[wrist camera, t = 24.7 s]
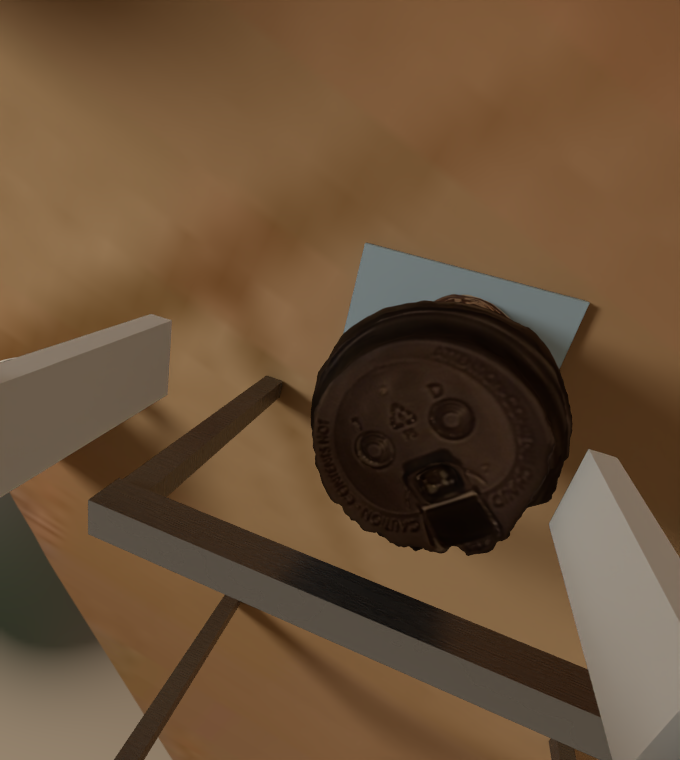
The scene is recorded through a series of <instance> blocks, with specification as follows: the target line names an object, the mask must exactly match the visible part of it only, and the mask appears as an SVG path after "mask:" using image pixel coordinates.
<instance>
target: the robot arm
mask: <svg viewBox="0 0 680 760" xmlns="http://www.w3.org/2000/svg"><path fill="white" fill-rule="evenodd" d="M171 325H172V320H169V319H166V318H162V317H159V316H156V315H153V314H150V315H147V316H144V317H141V318H137V319H134V320H131V321H128V322H125V323H122V324H119V325H116V326H113V327H110V328H107V329H104V330H100V331H97V332H94V333H91V334H88V335H85V336H82V337H79V338H76V339H73V340H70V341H67V342H64V343H60V344H57V345H54V346H51V347H48V348H45V349H42V350H39V351H36V352H33V353H30V354H27V355H23V356H20V357H17V358H14V359H10V360H7V361H4V362H0V497H2V496H4V495H5V494H7V493H8V492H10V491H12V490H13V489H15V488H17V487H18V486H20V485H21V484H23V483H25V482H26V481H28V480H30V479H31V478H33V477H34V476H36V475H38V474H39V473H41V472H43V471H44V470H46V469H48V468H49V467H51V466H52V465H54V464H56V463H57V462H59V461H61V460H62V459H64V458H65V457H67V456H69V455H70V454H72V453H74V452H75V451H77V450H78V449H80V448H82V447H83V446H85V445H87V444H88V443H90V442H91V441H93V440H95V439H96V438H98V437H100V436H101V435H103V434H104V433H106V432H108V431H109V430H111V429H113V428H114V427H116V426H118V425H119V424H121V423H122V422H124V421H126V420H127V419H129V418H131V417H132V416H134V415H135V414H137V413H139V412H140V411H142V410H144V409H145V408H147V407H148V406H150V405H152V404H153V403H155V402H157V401H158V400H160V399H161V398H163V397H165V396H166V395H167V392H168V375H169V359H170V342H171ZM549 527H550V530H551V534H552V538H553V542H554V545H555V549H556V553H557V556H558V560H559V564H560V567H561V571H562V575H563V579H564V582H565V586H566V590H567V593H568V597H569V601H570V605H571V608H572V612H573V616H574V619H575V623H576V627H577V630H578V634H579V638H580V642H581V645H582V649H583V653H584V656H585V660H586V664H587V667H588V671H589V675H590V679H591V682H592V686H593V690H594V693H595V697H596V701H597V704H598V708H599V712H600V716H601V719H602V723H603V727H604V730H605V734H606V738H607V741H608V745H609V749H610V753H611V756H612V760H680V558H679V556H678V554H677V553H676V551H675V550H674V548H673V546H672V545H671V543H670V541H669V540H668V538H667V537H666V535H665V533H664V532H663V530H662V529H661V527H660V525H659V524H658V522H657V521H656V519H655V517H654V516H653V514H652V513H651V511H650V509H649V508H648V506H647V505H646V503H645V501H644V500H643V498H642V497H641V495H640V493H639V492H638V490H637V488H636V487H635V485H634V484H633V482H632V480H631V479H630V477H629V476H628V474H627V472H626V471H625V469H624V468H623V466H622V464H621V463H620V461H619V460H618V458H617V457H614V456H610V455H607V454H604V453H601V452H597V451H594V450H591V449H588V451H587V453H586V455H585V457H584V458H583V460H582V462H581V464H580V466H579V468H578V470H577V472H576V474H575V475H574V477H573V479H572V481H571V483H570V485H569V487H568V489H567V491H566V492H565V494H564V496H563V498H562V500H561V502H560V504H559V506H558V508H557V509H556V511H555V513H554V515H553V517H552V519H551V521H550V523H549Z"/></svg>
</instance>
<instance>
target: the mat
mask: <svg viewBox="0 0 680 760" xmlns="http://www.w3.org/2000/svg"><path fill="white" fill-rule="evenodd" d="M451 294H458V295H472V296H474V297H478V298H481V299H483V300H486V301H488V302H490V303H492V304H493V305H495V306H496V307H497V308H498V309H500V310H501V311H502V312H503V313H504V314H506V315H507V316H508V317H509V318H510V319H511V320H513V321H514V322H517V323H520V324H521V325H523V326H525V327H529V328H530V329H531V330H533V331H534V332H535V333H536V334H537V335H538V336H539V338H540V339H541V340H542V341H543V342H544V343H545V344H546V346H547V347H548V349H549V350H550V352H551V354H552V356H553V357H554V359H555V361H556V364H557V366H558V368H559V369H560V367H561V365H562V362H563V360H564V358H565V356H566V354H567V351H568V349H569V347H570V345H571V343H572V340H573V338H574V336H575V334H576V332H577V329H578V327H579V325H580V323H581V321H582V318H583V316H584V314H585V312H586V310H587V307H588V305H589V302H587V301H585V300H581V299H577V298H573V297H570V296H566V295H562V294H558V293H554V292H551V291H547V290H543V289H539V288H536V287H532V286H528V285H524V284H521V283H517V282H513V281H509V280H505V279H502V278H498V277H494V276H490V275H487V274H483V273H479V272H475V271H472V270H468V269H464V268H460V267H457V266H453V265H449V264H445V263H441V262H438V261H434V260H430V259H426V258H423V257H419V256H415V255H411V254H408V253H404V252H400V251H396V250H393V249H389V248H385V247H381V246H377V245H374V244H370V243H365V246H364V250H363V254H362V258H361V262H360V267H359V271H358V275H357V279H356V283H355V287H354V292H353V296H352V300H351V304H350V308H349V312H348V317H347V321H346V325H345V329H344V333H345V332H346V331H347V330H348V329H349V328H350V327H352V326H353V325H355V324H357V323H358V322H359V321H361V320H363V319H364V318H366V317H367V316H370V315H372V314H374V313H376V312H377V311H379V310H381V309H383V308H386V307H392V306H397V305H402V304H405V303H413V302H419V301H423V300H428V301H435V300H437V299H439V298H441V297H444V296H447V295H451ZM344 333H343V334H344Z"/></svg>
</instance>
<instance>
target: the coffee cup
mask: <svg viewBox="0 0 680 760" xmlns="http://www.w3.org/2000/svg"><path fill="white" fill-rule="evenodd" d="M311 428H312V437H313V449H314V451H315V453H316V456H315V465H316V467H317V469H318V471H319V473H320V477H321V481H322V484H323V486H324V488H325V490H326V492H327V494H328V495H329V497H330V499H331V500H332V501H333V502H334V503H337V504H340V505H341V506H342V507H343V510H344V513H345V514H346V515H348V516H349V517H350V519H351V520H354V521H356V522H357V523H358V524H359V525H360V527H361V528H362V529H363V530H364V531H368V532H373V533H375V532H377V533H378V535H379V536H382V537H385V538H386V539H387V540H388V541H389V542H390V543H394V544H395V545H397V546H398V547H400V546H402V547H407V546H410V547H411V548H412V549H413V550H415V551H417V550H420V549H422V548H424V549H425V550H428V551H430V552H437V553H445V552H446V551H447V550H448V549H449V548H450V547H451V546H458V547H459V548H460V549H461V550H462V551H464V552H465V553H466V555H467V556H469V555H473V554H481V553H487V552H490V551H491V550H493V548H494V547H495V545H496V542H498V541H503V540H505V539H507V538H508V537H509V536H510V531H511V530H512V529H513V527H514V526H515V524H516V522H517V520H518V519H519V518H520V517H521V516H522V514H523V512H524V511H525V510H526V508H528V507H532V506H535V505H539V504H543V503H547V502H548V501H549V500H551V499H552V494H553V493H554V492H555V490H556V487H557V481H558V478H559V476H560V473H561V469H562V467H563V464H564V461H565V460H566V459H567V458H568V456H569V445H570V437H571V433H572V415H571V412H570V405H569V401H568V394H567V392H566V390H565V386H564V382H563V379H562V377H561V374H560V370H559V368H558V366H557V364H556V361H555V359H554V357H553V356H552V354H551V352H550V350H549V349H548V347H547V346H546V344H545V343H544V342H543V341H542V340H541V339H540V338H539V336H538V335H537V334H536V333H535V332H534V331H533V330H531V329H530V328H529V327H525V326H523V325H521V324H520V323H517V322H514V321H513V320H511V319H510V318H509V317H508V316H507V315H506V314H504V313H503V312H502V311H501V310H500V309H498V308H497V307H496V306H495V305H493V304H492V303H490V302H488V301H486V300H483V299H481V298H478V297H474V296H472V295H458V294H451V295H447V296H444V297H441V298H439V299H437V300H435V301H428V300H423V301H419V302H413V303H405V304H402V305H397V306H392V307H386V308H383V309H381V310H379V311H377V312H376V313H374V314H372V315H370V316H367V317H366V318H364V319H363V320H361V321H359V322H358V323H357V324H355V325H353V326H352V327H350V328H349V329H348V330H347V331H346V332H345V333H344V334H343V335H342V336H341V337H340V339H339V341H338V343H337V344H336V345H335V347H334V349H333V351H332V353H331V354H330V356H329V358H328V360H327V361H326V362H325V363H324V365H323V366H322V368H321V369H320V371H319V372H318V375H317V382H316V386H315V391H314V394H313V399H312V407H311Z"/></svg>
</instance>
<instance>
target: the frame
mask: <svg viewBox="0 0 680 760" xmlns="http://www.w3.org/2000/svg"><path fill="white" fill-rule="evenodd" d="M281 387H282V381H281V380H278V379H275V378H272V377H269V376H265V377H264V378H262V379H261V380H260V381H258V382H257V383H255V384H254V385H253V386H251V387H250V388H248V389H247V390H246V391H244V392H243V393H242V394H240V395H239V396H237V397H236V398H235V399H233V400H232V401H230V402H229V403H228V404H226V405H225V406H224V407H222V408H221V409H219V410H218V411H217V412H215V413H214V414H213V415H211V416H210V417H208V418H207V419H206V420H204V421H203V422H201V423H200V424H199V425H197V426H196V427H195V428H193V429H192V430H190V431H189V432H188V433H186V434H185V435H183V436H182V437H181V438H179V439H178V440H177V441H175V442H174V443H172V444H171V445H170V446H168V447H167V448H165V449H164V450H163V451H161V452H160V453H159V454H157V455H156V456H154V457H153V458H152V459H150V460H149V461H147V462H146V463H145V464H143V465H142V466H141V467H139V468H138V469H136V470H135V471H134V472H132V473H131V474H129V475H128V476H127V477H125V478H124V479H123V480H122V479H120V478H118V479H117V480H116V481H114V482H113V483H111V484H110V485H109V486H107V487H106V488H104V489H103V490H101V491H100V492H99V493H97V494H96V495H94V496H93V497H92V498H90V499H89V500H88V534H89V535H91V536H94V537H96V538H98V539H101V540H103V541H105V542H107V543H110V544H112V545H114V546H116V547H119V548H121V549H123V550H125V551H128V552H130V553H132V554H135V555H137V556H139V557H141V558H144V559H146V560H148V561H150V562H153V563H155V564H157V565H159V566H162V567H164V568H166V569H169V570H171V571H173V572H175V573H178V574H180V575H182V576H184V577H187V578H189V579H191V580H193V581H196V582H198V583H200V584H203V585H205V586H207V587H209V588H212V589H214V590H216V591H218V592H221V593H223V594H225V595H224V597H223V598H222V600H221V601H220V603H219V604H218V606H217V607H216V609H215V610H214V612H213V613H212V615H211V616H210V618H209V619H208V621H207V622H206V624H205V625H204V627H203V628H202V630H201V631H200V633H199V634H198V636H197V637H196V639H195V640H194V642H193V643H192V644H191V646H190V647H189V649H188V650H187V652H186V653H185V655H184V656H183V658H182V659H181V661H180V662H179V664H178V665H177V667H176V668H175V670H174V671H173V673H172V674H171V676H170V677H169V679H168V680H167V682H166V683H165V685H164V686H163V688H162V689H161V691H160V692H159V694H158V695H157V697H156V698H155V700H154V701H153V702H152V704H151V705H150V707H149V708H148V710H147V711H146V713H145V714H144V716H143V718H142V719H141V720H140V722H139V723H138V725H137V726H136V728H135V729H134V731H133V732H132V734H131V735H130V737H129V738H128V740H127V741H126V743H125V744H124V746H123V747H122V749H121V750H120V752H119V753H118V755H117V756H116V758H115V759H114V760H144V759H145V757H146V756H147V754H148V752H149V751H150V749H151V748H152V746H153V744H154V743H155V741H156V739H157V738H158V736H159V735H160V733H161V731H162V730H163V728H164V727H165V725H166V723H167V722H168V720H169V718H170V717H171V715H172V714H173V712H174V710H175V709H176V707H177V705H178V704H179V702H180V701H181V699H182V697H183V696H184V694H185V692H186V691H187V689H188V688H189V686H190V684H191V683H192V681H193V679H194V678H195V676H196V675H197V673H198V671H199V670H200V668H201V666H202V665H203V663H204V662H205V660H206V658H207V657H208V655H209V653H210V652H211V650H212V649H213V647H214V645H215V644H216V642H217V640H218V639H219V637H220V636H221V634H222V632H223V631H224V629H225V628H226V626H227V624H228V623H229V621H230V619H231V618H232V616H233V615H234V613H235V611H236V610H237V608H238V606H239V605H240V601H241V602H243V603H246V604H248V605H250V606H252V607H255V608H257V609H259V610H262V611H264V612H266V613H268V614H271V615H273V616H275V617H277V618H280V619H282V620H284V621H286V622H289V623H291V624H293V625H296V626H298V627H300V628H302V629H305V630H307V631H309V632H311V633H314V634H316V635H318V636H320V637H323V638H325V639H327V640H330V641H332V642H334V643H336V644H339V645H341V646H343V647H345V648H348V649H350V650H352V651H354V652H357V653H359V654H361V655H364V656H366V657H368V658H370V659H373V660H375V661H377V662H379V663H382V664H384V665H386V666H388V667H391V668H393V669H395V670H398V671H400V672H402V673H404V674H407V675H409V676H411V677H413V678H416V679H418V680H420V681H422V682H425V683H427V684H429V685H432V686H434V687H436V688H438V689H441V690H443V691H445V692H447V693H450V694H452V695H454V696H457V697H459V698H461V699H463V700H466V701H468V702H470V703H472V704H475V705H477V706H479V707H481V708H484V709H486V710H488V711H491V712H493V713H495V714H497V715H500V716H502V717H504V718H506V719H509V720H511V721H513V722H515V723H518V724H520V725H522V726H525V727H527V728H529V729H531V730H534V731H536V732H538V733H540V734H543V735H545V736H547V737H549V738H551V739H550V741H549V746H550V753H551V759H552V760H576V756H575V751H574V749H577V750H579V751H581V752H583V753H586V754H588V755H590V756H593V757H595V758H597V759H599V760H612V756H611V753H610V749H609V745H608V741H607V738H606V734H605V730H604V727H603V723H602V719H601V716H600V712H599V708H598V704H597V701H596V697H595V693H594V690H593V686H592V682H591V679H590V675H589V671H588V669H585V668H583V667H580V666H578V665H576V664H573V663H571V662H568V661H566V660H563V659H561V658H558V657H556V656H554V655H551V654H549V653H546V652H544V651H541V650H539V649H536V648H534V647H531V646H529V645H527V644H524V643H522V642H519V641H517V640H514V639H512V638H509V637H507V636H505V635H502V634H500V633H497V632H495V631H492V630H490V629H487V628H485V627H482V626H480V625H478V624H475V623H473V622H470V621H468V620H465V619H463V618H460V617H458V616H455V615H453V614H451V613H448V612H446V611H443V610H441V609H438V608H436V607H433V606H431V605H429V604H426V603H424V602H421V601H419V600H416V599H414V598H411V597H409V596H406V595H404V594H402V593H399V592H397V591H394V590H392V589H389V588H387V587H384V586H382V585H380V584H377V583H375V582H372V581H370V580H367V579H365V578H362V577H360V576H357V575H355V574H353V573H350V572H348V571H345V570H343V569H340V568H338V567H335V566H333V565H331V564H328V563H326V562H323V561H321V560H318V559H316V558H313V557H311V556H308V555H306V554H304V553H301V552H299V551H296V550H294V549H291V548H289V547H286V546H284V545H282V544H279V543H277V542H274V541H272V540H269V539H267V538H264V537H262V536H259V535H257V534H255V533H252V532H250V531H247V530H245V529H242V528H240V527H237V526H235V525H233V524H230V523H228V522H225V521H223V520H220V519H218V518H215V517H213V516H210V515H208V514H206V513H203V512H201V511H198V510H196V509H193V508H191V507H188V506H186V505H184V504H181V503H179V502H176V501H174V500H171V499H169V498H166V497H167V496H168V495H169V494H170V493H171V492H173V491H174V490H175V489H176V488H177V487H178V486H179V485H181V484H182V483H183V482H184V481H185V480H186V479H187V478H188V477H190V476H191V475H192V474H193V473H194V472H195V471H196V470H197V469H199V468H200V467H201V466H202V465H203V464H204V463H205V462H207V461H208V460H209V459H210V458H211V457H212V456H213V455H214V454H216V453H217V452H218V451H219V450H220V449H221V448H222V447H224V446H225V445H226V444H227V443H228V442H229V441H230V440H231V439H233V438H234V437H235V436H236V435H237V434H238V433H239V432H241V431H242V430H243V429H244V428H245V427H246V426H247V425H248V424H250V423H251V422H252V421H253V420H254V419H255V418H256V417H257V416H259V415H260V414H261V413H262V412H263V411H264V410H265V409H267V408H268V407H269V406H270V405H271V404H272V403H273V402H274V401H276V400H277V399H278V398H279V397H280V392H281Z"/></svg>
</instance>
